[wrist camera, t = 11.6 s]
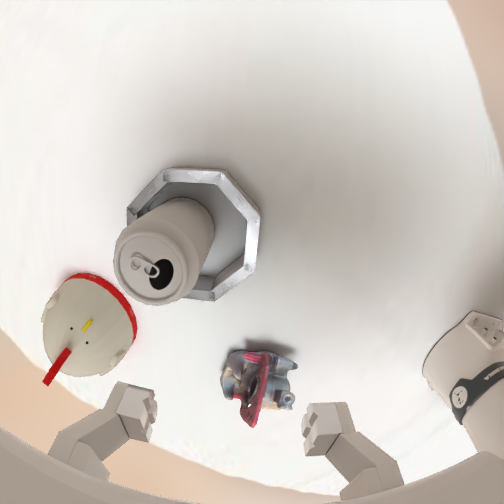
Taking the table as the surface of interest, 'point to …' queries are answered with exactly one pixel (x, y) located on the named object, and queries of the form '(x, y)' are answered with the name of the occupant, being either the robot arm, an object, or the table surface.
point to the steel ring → (246, 263)
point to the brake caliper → (257, 382)
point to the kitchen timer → (86, 327)
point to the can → (164, 251)
